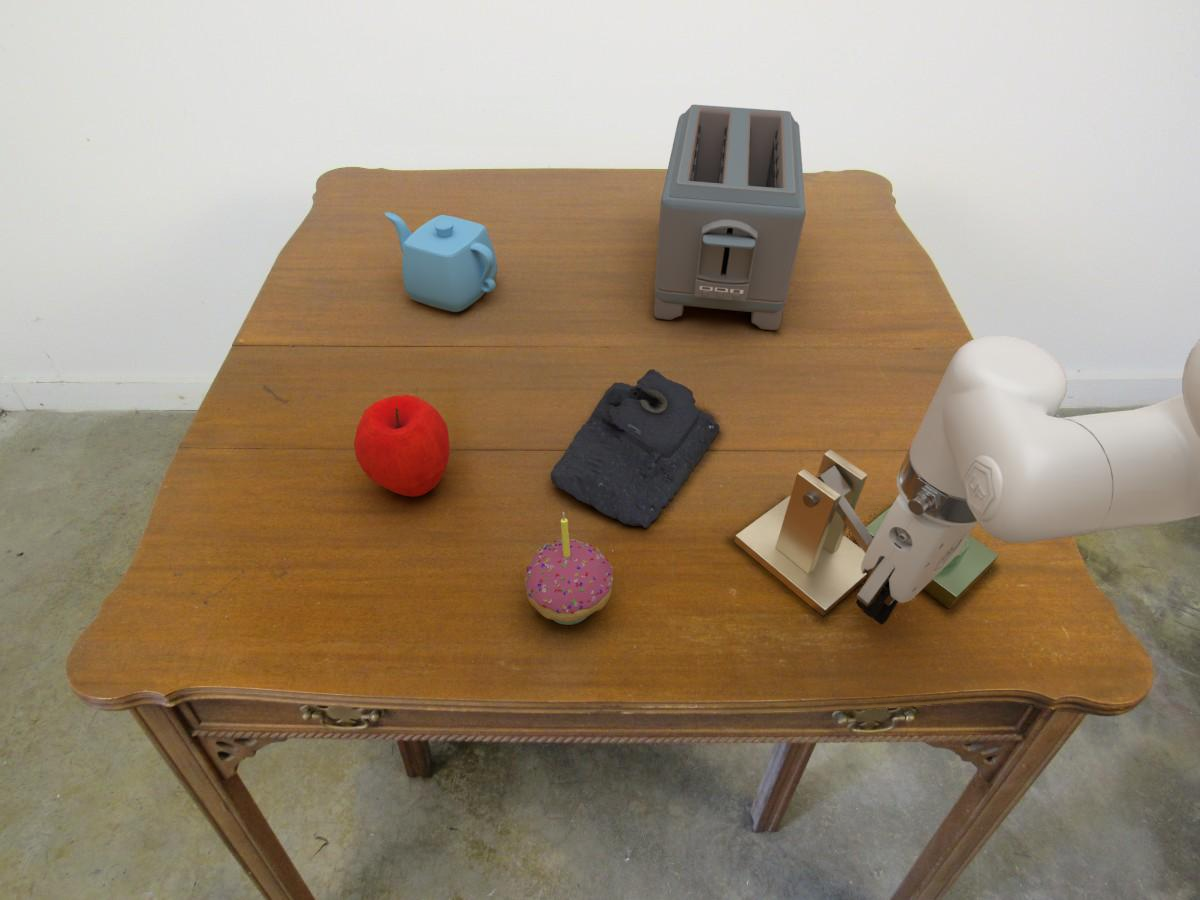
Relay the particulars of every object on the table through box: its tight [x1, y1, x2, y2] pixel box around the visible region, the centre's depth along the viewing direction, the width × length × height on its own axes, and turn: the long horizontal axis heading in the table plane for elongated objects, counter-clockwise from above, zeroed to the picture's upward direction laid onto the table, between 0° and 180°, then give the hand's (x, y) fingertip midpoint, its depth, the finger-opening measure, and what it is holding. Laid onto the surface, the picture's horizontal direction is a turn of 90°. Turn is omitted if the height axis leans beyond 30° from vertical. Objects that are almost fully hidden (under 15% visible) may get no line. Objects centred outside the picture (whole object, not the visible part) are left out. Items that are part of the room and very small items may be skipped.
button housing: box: [865, 506, 1000, 609], centre depth 77 cm, size 11×8×4 cm
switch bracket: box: [733, 448, 873, 617], centre depth 74 cm, size 12×9×13 cm
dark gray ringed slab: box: [550, 368, 720, 529], centre depth 87 cm, size 15×22×5 cm
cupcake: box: [524, 511, 614, 626], centre depth 70 cm, size 9×8×12 cm
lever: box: [814, 466, 890, 589], centre depth 70 cm, size 14×3×3 cm, turn 39°
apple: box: [353, 394, 451, 498], centre depth 80 cm, size 10×10×12 cm
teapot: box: [384, 211, 498, 313], centre depth 109 cm, size 12×18×12 cm
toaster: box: [653, 104, 807, 331], centre depth 109 cm, size 19×33×20 cm, turn 171°
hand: (883, 600), depth 72 cm, fingers closed on lever, 3 cm apart
